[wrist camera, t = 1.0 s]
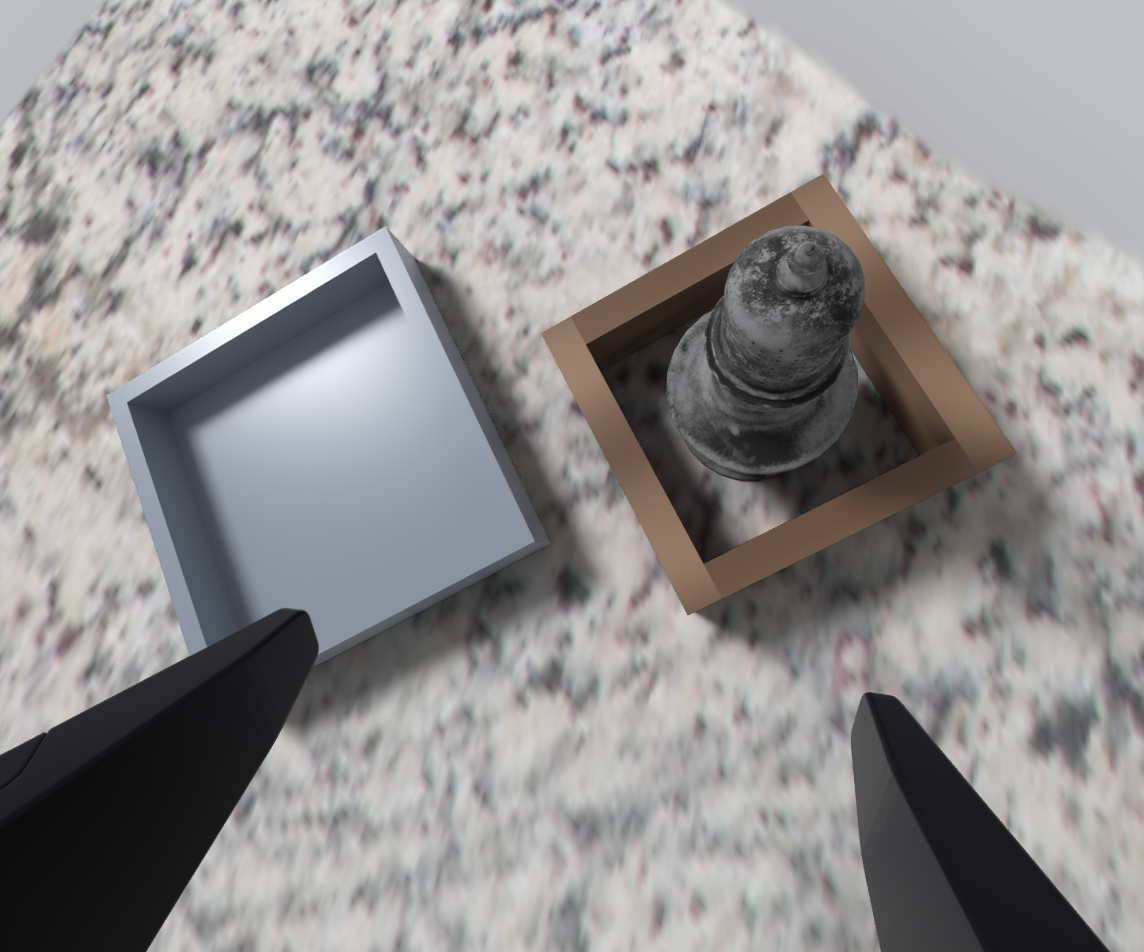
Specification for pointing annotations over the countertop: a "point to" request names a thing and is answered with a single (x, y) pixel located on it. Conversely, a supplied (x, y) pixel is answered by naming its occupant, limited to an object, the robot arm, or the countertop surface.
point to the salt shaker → (771, 357)
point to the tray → (323, 459)
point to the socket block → (878, 341)
